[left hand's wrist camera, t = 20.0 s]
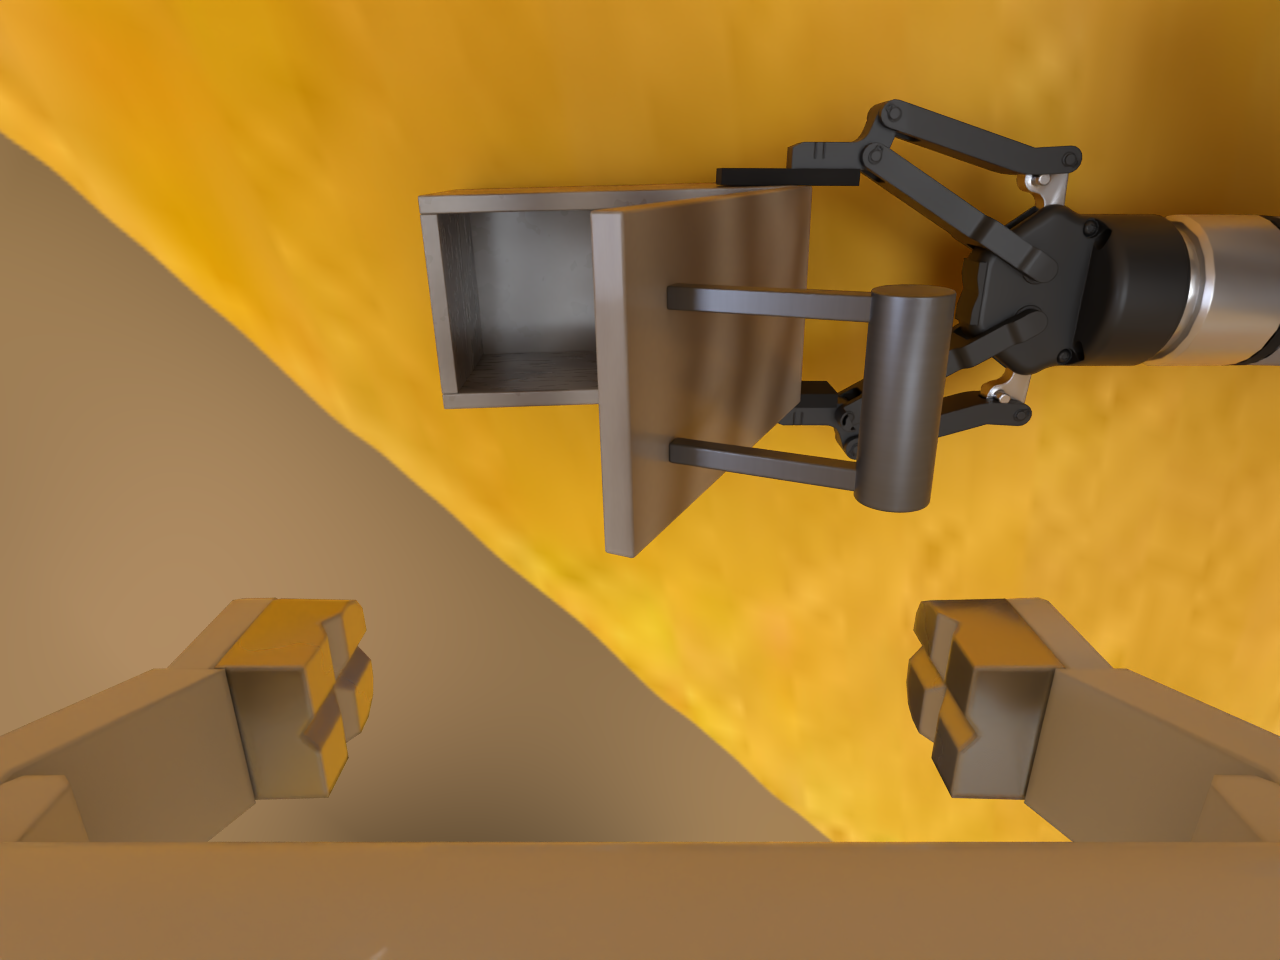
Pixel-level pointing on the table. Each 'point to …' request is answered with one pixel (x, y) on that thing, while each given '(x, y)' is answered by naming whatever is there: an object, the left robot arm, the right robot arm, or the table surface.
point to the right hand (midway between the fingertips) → (714, 290)
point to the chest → (523, 288)
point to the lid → (745, 359)
